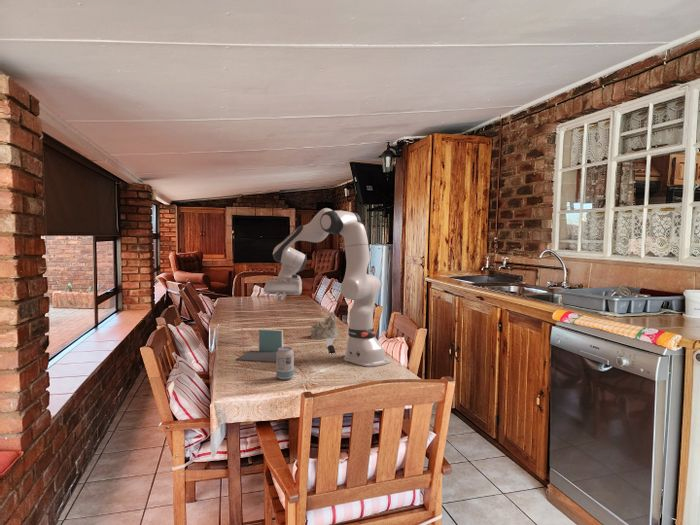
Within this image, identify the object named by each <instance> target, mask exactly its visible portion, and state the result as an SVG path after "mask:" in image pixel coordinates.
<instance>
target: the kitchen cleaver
mask: <svg viewBox="0 0 700 525" xmlns="http://www.w3.org/2000/svg"><path fill="white" fill-rule="evenodd" d="M335 339H336V338H328V339H325V340H326V344H327V347H328V348H327V349H328V350H329V353H331V354H330V355H333V354H332V353H335V354H336V350H335V346H334V344H333V343H334V341H335Z"/></svg>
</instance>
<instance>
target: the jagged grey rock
mask: <svg viewBox="0 0 700 525" xmlns="http://www.w3.org/2000/svg"><path fill="white" fill-rule="evenodd" d="M336 320H337V319H336V314H335V313H334V311H332V312H330V315H329V317H324V321H316V324H314V323H313V324H311V326H310V327H311V328H310V333H311V335H310V339H313V338H314V339H315V340H321V339H328V338H335V339H337V337H338V338H339V330H338V327H337V325H336V324H337V322H336ZM314 339H313V340H314Z"/></svg>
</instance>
